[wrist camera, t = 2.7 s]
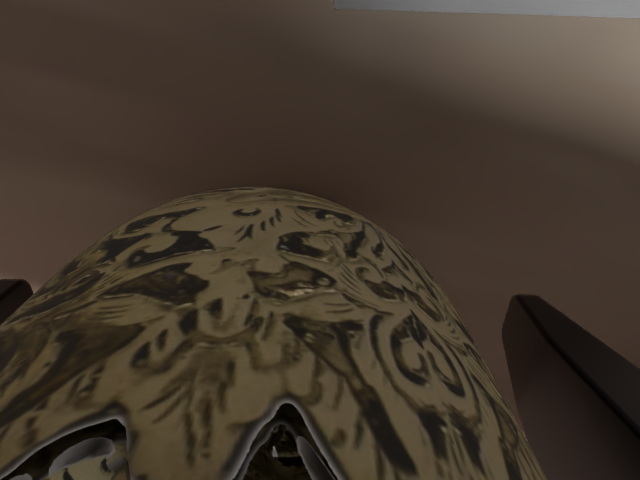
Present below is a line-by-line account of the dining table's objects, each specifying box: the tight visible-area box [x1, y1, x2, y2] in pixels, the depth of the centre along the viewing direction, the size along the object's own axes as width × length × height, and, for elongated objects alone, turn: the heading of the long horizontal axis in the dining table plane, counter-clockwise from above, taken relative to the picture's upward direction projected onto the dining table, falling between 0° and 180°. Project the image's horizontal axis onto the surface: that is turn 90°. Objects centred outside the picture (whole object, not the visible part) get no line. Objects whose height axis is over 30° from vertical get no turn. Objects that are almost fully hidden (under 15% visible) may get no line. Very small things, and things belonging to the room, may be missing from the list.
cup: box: [0, 186, 547, 480], centre depth 8 cm, size 8×7×8 cm
